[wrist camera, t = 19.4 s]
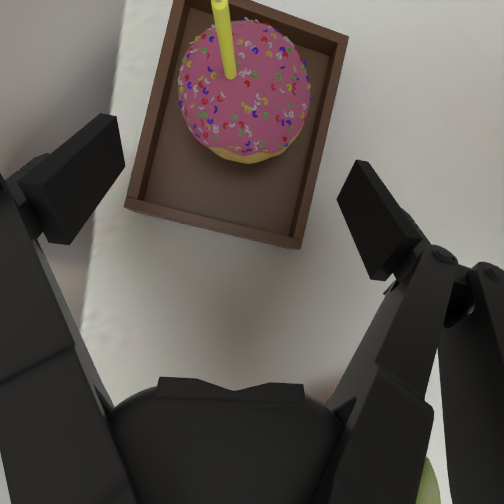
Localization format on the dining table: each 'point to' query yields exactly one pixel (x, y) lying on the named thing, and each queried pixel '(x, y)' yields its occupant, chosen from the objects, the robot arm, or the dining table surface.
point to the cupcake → (243, 88)
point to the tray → (227, 171)
